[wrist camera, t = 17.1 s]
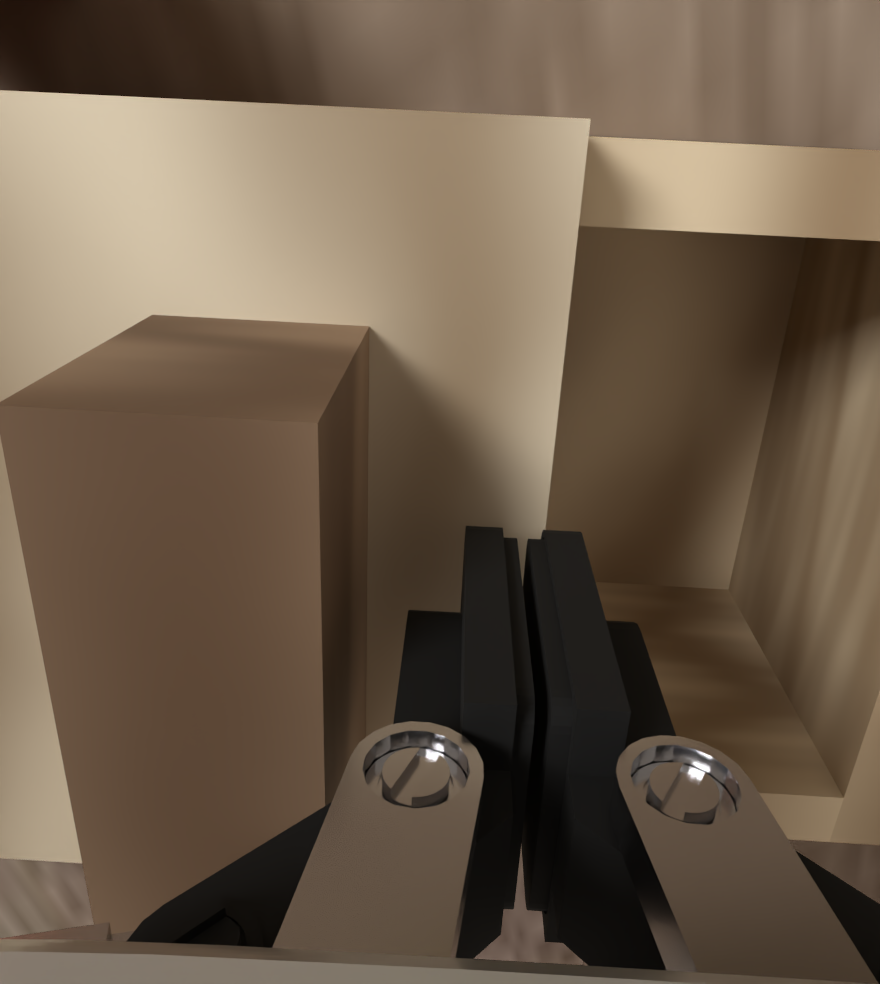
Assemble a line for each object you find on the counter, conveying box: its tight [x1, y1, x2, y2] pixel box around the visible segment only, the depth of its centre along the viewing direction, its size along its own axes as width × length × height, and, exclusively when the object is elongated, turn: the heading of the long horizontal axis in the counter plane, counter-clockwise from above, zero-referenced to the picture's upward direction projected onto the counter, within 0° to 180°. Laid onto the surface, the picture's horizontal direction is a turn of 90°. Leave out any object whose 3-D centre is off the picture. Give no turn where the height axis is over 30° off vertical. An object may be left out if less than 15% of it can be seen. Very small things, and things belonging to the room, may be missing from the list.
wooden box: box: [545, 136, 880, 845], centre depth 18 cm, size 30×13×9 cm, turn 87°
